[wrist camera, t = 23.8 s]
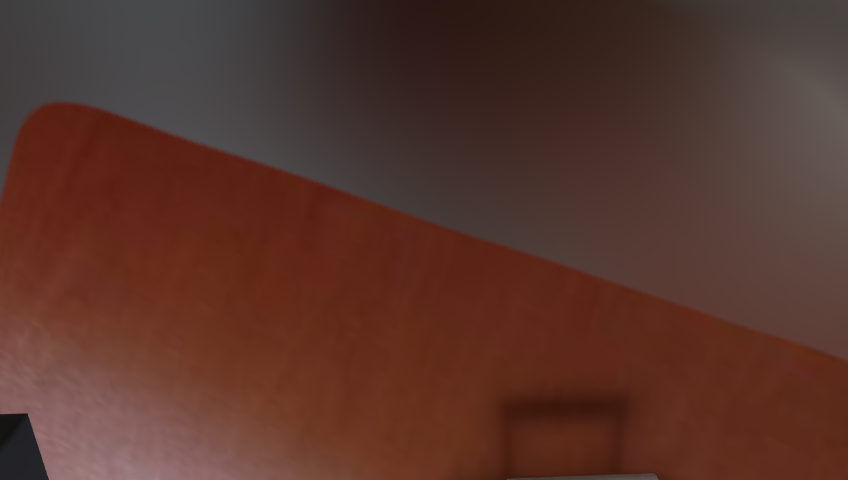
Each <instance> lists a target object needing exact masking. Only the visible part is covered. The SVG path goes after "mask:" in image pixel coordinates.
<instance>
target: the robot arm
mask: <svg viewBox="0 0 848 480" xmlns="http://www.w3.org/2000/svg"><path fill="white" fill-rule="evenodd" d="M0 480H49V479H48V476H47V473H46V470H45V467H44V463H43V460H42V457H41V454H40V451H39V448H38V445H37V442H36V438H35V435H34V432H33V429H32V426H31V423H30V420H29V417H28V414H27V413H25V414H0Z"/></svg>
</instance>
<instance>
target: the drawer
mask: <svg viewBox="0 0 848 480" xmlns="http://www.w3.org/2000/svg"><path fill="white" fill-rule="evenodd" d="M507 480H658V478H657V476H656V474H654V473H647V474H617V475H586V476H556V477H525V478H507Z"/></svg>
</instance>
